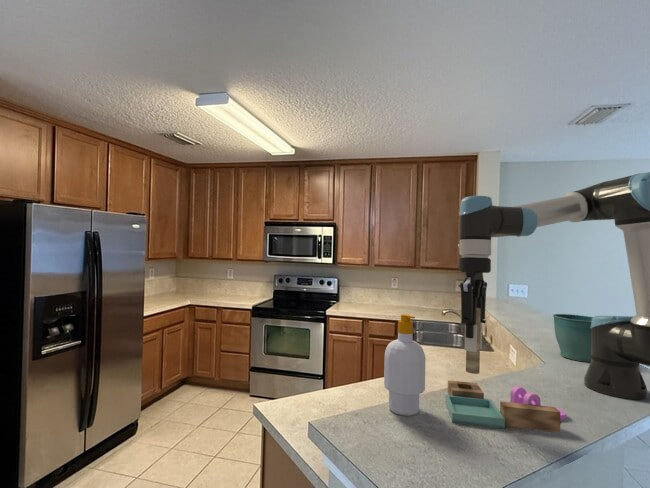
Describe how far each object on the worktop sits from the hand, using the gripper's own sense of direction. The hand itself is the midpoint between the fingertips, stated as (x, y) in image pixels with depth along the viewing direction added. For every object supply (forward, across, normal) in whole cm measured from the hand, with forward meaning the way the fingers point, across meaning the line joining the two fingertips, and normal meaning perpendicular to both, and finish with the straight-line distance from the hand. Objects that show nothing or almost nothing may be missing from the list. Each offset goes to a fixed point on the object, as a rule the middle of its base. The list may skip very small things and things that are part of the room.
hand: (473, 349), depth 89 cm
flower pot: (+16, -89, +14) cm, 91 cm away
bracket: (+17, -12, +13) cm, 24 cm away
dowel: (+6, 0, 0) cm, 6 cm away
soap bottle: (+17, +10, -14) cm, 24 cm away
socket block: (+16, -9, -5) cm, 19 cm away
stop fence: (+16, -4, +12) cm, 20 cm away
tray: (+16, 0, 0) cm, 16 cm away
